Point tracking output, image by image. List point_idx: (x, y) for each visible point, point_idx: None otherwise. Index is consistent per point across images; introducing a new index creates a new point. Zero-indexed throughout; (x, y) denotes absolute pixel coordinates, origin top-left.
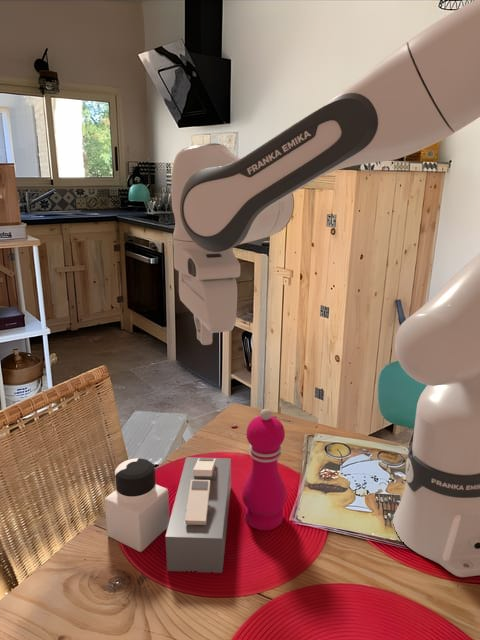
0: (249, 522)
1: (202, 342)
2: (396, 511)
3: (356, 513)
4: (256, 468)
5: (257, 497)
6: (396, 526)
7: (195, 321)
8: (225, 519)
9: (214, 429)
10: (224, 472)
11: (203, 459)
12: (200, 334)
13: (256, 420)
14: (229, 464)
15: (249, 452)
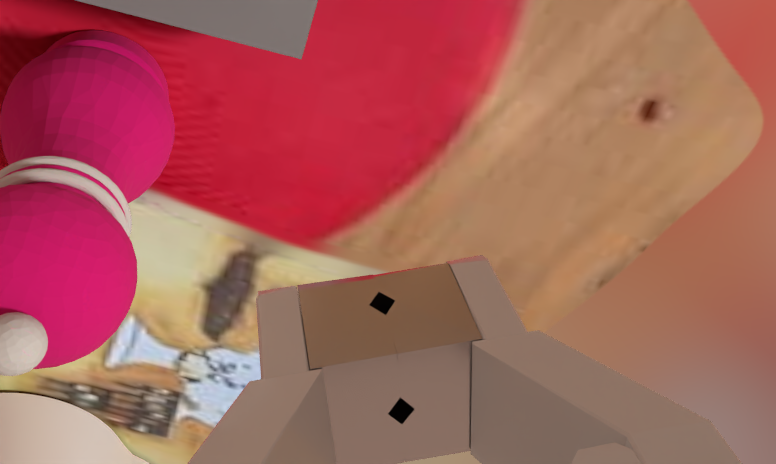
0: (63, 39)
1: (257, 311)
2: (57, 424)
3: None
4: (25, 154)
5: (7, 104)
6: (14, 403)
7: (595, 409)
8: None
9: (671, 33)
10: (202, 13)
11: None
12: (312, 361)
13: (16, 282)
14: (258, 45)
15: (60, 158)
